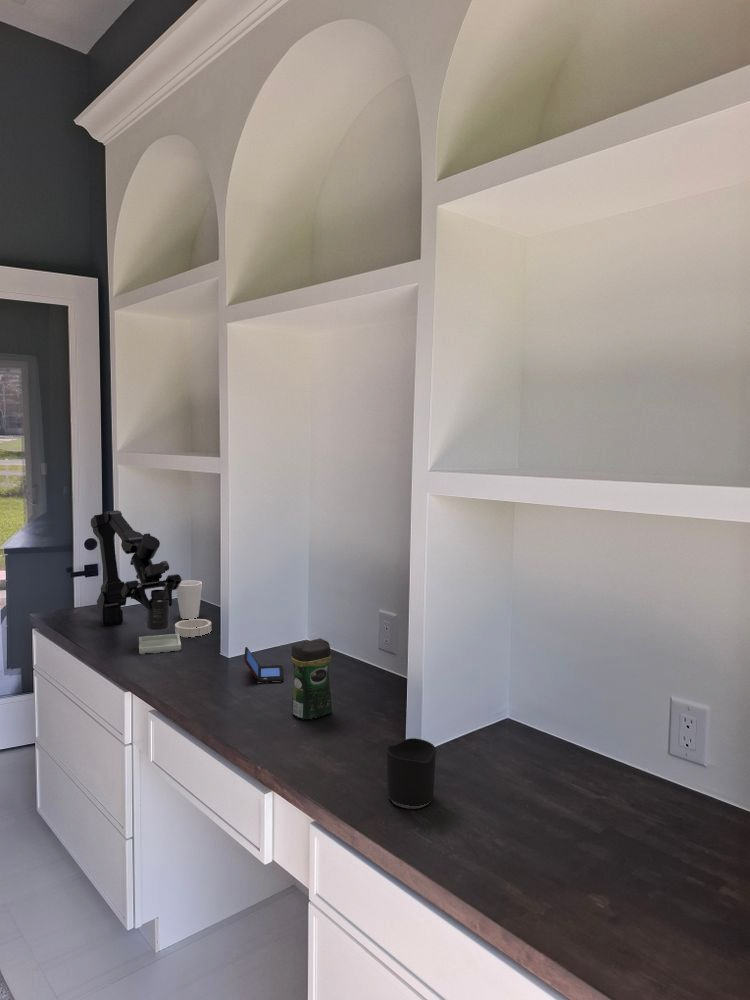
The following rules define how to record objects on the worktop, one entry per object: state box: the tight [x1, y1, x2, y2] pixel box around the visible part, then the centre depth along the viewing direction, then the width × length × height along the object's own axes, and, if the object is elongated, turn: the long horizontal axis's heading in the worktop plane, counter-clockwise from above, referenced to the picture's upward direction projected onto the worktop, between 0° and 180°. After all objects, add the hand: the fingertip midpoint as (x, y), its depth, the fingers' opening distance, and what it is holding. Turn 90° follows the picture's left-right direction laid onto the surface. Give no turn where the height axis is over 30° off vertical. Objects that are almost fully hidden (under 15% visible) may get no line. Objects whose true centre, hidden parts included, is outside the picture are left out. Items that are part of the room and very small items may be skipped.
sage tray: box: [138, 633, 182, 655], centre depth 228 cm, size 13×13×2 cm
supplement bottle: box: [146, 589, 171, 631], centre depth 227 cm, size 7×7×12 cm
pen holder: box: [386, 737, 437, 806], centre depth 135 cm, size 9×9×10 cm
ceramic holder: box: [174, 618, 212, 638], centre depth 244 cm, size 12×12×3 cm
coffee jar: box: [290, 637, 333, 720], centre depth 175 cm, size 10×8×19 cm
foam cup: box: [175, 579, 203, 620], centre depth 262 cm, size 10×9×13 cm
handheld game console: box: [243, 646, 284, 682], centre depth 202 cm, size 12×11×7 cm
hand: (160, 607), depth 226 cm, fingers closed on supplement bottle, 7 cm apart
